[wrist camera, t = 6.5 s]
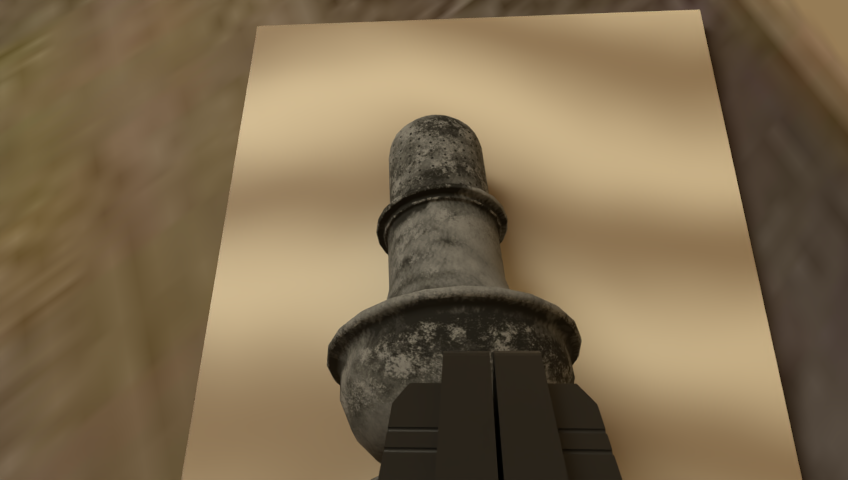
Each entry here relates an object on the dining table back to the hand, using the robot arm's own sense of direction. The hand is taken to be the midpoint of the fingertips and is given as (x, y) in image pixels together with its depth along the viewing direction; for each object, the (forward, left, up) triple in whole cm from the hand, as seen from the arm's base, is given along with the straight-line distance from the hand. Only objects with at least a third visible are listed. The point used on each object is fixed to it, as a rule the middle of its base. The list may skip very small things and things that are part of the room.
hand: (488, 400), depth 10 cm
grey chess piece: (0, -2, -3) cm, 4 cm away
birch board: (-2, +7, -8) cm, 11 cm away
